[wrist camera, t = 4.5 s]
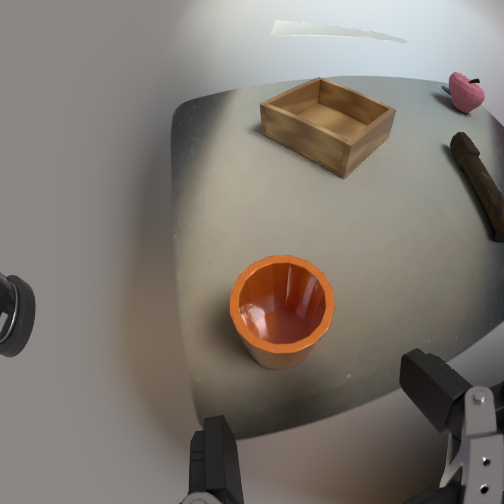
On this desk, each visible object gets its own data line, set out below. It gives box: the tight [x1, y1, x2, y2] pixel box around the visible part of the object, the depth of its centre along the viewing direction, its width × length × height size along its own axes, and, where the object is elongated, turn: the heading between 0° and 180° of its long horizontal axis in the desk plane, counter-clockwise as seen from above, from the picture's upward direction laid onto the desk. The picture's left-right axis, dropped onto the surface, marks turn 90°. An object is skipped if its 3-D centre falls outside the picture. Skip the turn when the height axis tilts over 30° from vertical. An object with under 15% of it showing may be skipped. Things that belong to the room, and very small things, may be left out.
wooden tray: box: [260, 77, 396, 179], centre depth 33 cm, size 14×14×5 cm
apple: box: [449, 72, 485, 113], centre depth 37 cm, size 10×9×10 cm
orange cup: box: [230, 255, 335, 370], centre depth 18 cm, size 6×6×9 cm
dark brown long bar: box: [450, 132, 504, 241], centre depth 27 cm, size 19×4×5 cm, turn 178°
